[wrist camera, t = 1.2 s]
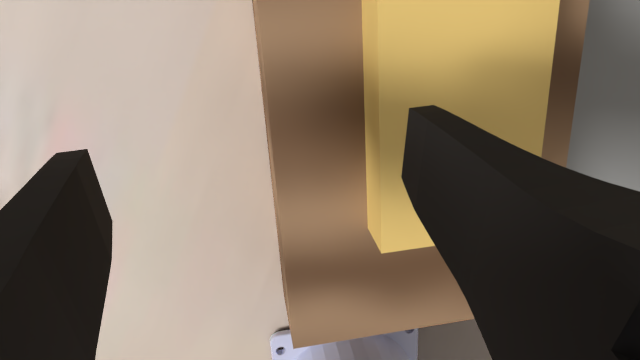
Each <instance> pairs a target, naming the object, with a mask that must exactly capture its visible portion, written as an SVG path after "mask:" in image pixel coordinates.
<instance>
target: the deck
mask: <svg viewBox="0 0 640 360" xmlns="http://www.w3.org/2000/svg"><path fill="white" fill-rule="evenodd" d="M252 2H253V11H254V20H255V30H256V39H257V48H258V57H259V67H260V76H261V85H262V95H263V104H264V113H265V122H266V132H267V141H268V150H269V160H270V169H271V178H272V187H273V197H274V206H275V215H276V225H277V234H278V243H279V252H280V262H281V271H282V280H283V289H284V297H285V303H286V309H287V315H288V321H289V327H290V332H291V338H292V344H293V349H296V348H302V347H308V346H314V345H320V344H326V343H332V342H338V341H344V340H350V339H356V338H362V337H368V336H374V335H380V334H386V333H392V332H398V331H404V330H410V329H417V328H423V327H429V326H435V325H441V324H447V323H453V322H459V321H465V320H471V319H475V318H474V316H473V314H472V311H471V309H470V307H469V305H468V303H467V300H466V298H465V296H464V294H463V292H462V291H461V289H460V287H459V285H458V283H457V281H456V280H455V278H454V276H453V275H452V273H451V271H450V270H449V268H448V266H447V265H446V263H445V261H444V260H443V258H442V256H441V255H440V253H439V251H438V250H437V248H436V246H430V247H423V248H416V249H409V250H403V251H396V252H389V253H382V254H381V252H380V250H379V248H378V246H377V244H376V243H375V241H374V239H373V237H372V235H371V233H370V231H369V230H368V218H367V181H366V144H365V108H364V71H363V34H362V0H252ZM589 2H590V0H560V5H559V13H558V21H557V30H556V38H555V47H554V55H553V63H552V72H551V80H550V88H549V97H548V105H547V114H546V122H545V130H544V139H543V147H542V156H541V158H543V159H546V160H548V161H550V162H553V163H555V164H558V165H560V166H563V167H565V168H566V164H567V157H568V150H569V143H570V136H571V129H572V122H573V115H574V108H575V101H576V94H577V87H578V79H579V72H580V65H581V58H582V51H583V44H584V37H585V30H586V23H587V16H588V9H589Z"/></svg>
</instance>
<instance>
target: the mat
mask: <svg viewBox="0 0 640 360" xmlns="http://www.w3.org/2000/svg"><path fill="white" fill-rule="evenodd" d="M566 168H568V169H571V170H574V171H576V172H579V173H582V174H585V175H587V176H590V177H593V178H596V179H599V180H602V181H605V182H608V183H612V184H615V185H619V186H622V187H626V188H629V189H633V190H636V191H640V0H590V2H589V9H588V16H587V23H586V30H585V37H584V44H583V51H582V58H581V65H580V72H579V79H578V87H577V94H576V101H575V108H574V115H573V122H572V129H571V136H570V143H569V150H568V157H567V164H566Z"/></svg>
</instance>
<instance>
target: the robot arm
mask: <svg viewBox="0 0 640 360" xmlns="http://www.w3.org/2000/svg"><path fill="white" fill-rule="evenodd" d="M401 178H402V181H403V183H404V186H405V188H406V191H407V194H408V196H409V198H410V201H411V203H412V205H413V208H414V210H415V212H416V214H417V216H418V217H419V219H420V221H421V223H422V224H423V226H424V228H425V229H426V231H427V233H428V235H429V236H430V238H431V240H432V241H433V243H434V245H435V246H436V248H437V250H438V251H439V253H440V255H441V256H442V258H443V260H444V261H445V263H446V265H447V266H448V268H449V270H450V271H451V273H452V275H453V276H454V278H455V280H456V281H457V283H458V285H459V287H460V289H461V291H462V292H463V294H464V296H465V298H466V300H467V303H468V305H469V307H470V309H471V311H472V314H473V316H474V318H475V320H476V322H477V325H478V327H479V329H480V331H481V334H482V336H483V338H484V341H485V343H486V345H487V348H488V350H489V353H490V355H491V357H492V360H640V191H636V190H633V189H629V188H626V187H622V186H619V185H615V184H612V183H608V182H605V181H602V180H599V179H596V178H593V177H590V176H587V175H585V174H582V173H579V172H576V171H574V170H571V169H568V168H565V167H563V166H560V165H558V164H555V163H553V162H550V161H548V160H546V159H543V158H541V157H539V156H537V155H534V154H532V153H530V152H528V151H526V150H523V149H521V148H519V147H517V146H515V145H513V144H511V143H509V142H507V141H505V140H503V139H501V138H499V137H497V136H495V135H493V134H491V133H489V132H487V131H485V130H483V129H481V128H479V127H477V126H476V125H474V124H472V123H470V122H468V121H466V120H464V119H462V118H460V117H458V116H456V115H454V114H452V113H450V112H448V111H446V110H444V109H442V108H440V107H437V106H435V105H429V106H421V107H413V108H409V113H408V122H407V130H406V139H405V148H404V157H403V166H402V175H401ZM111 260H112V219H111V216H110V213H109V210H108V208H107V205H106V202H105V199H104V196H103V193H102V190H101V188H100V185H99V182H98V179H97V176H96V173H95V170H94V167H93V165H92V162H91V159H90V156H89V153H88V150H87V149H84V150H76V151H69V152H61V153H56V154H55V155H54V156H53V157H52V158H51V159H50V160H49V161H48V162H47V163H46V164H45V165H44V166H43V167H42V168H41V169H40V170H39V171H38V172H37V173H36V174H35V175H34V176H33V177H32V178H31V179H30V180H29V181H28V182H27V183H26V185H25V186H24V187H23V188H22V189H21V190H20V191H19V192H18V193H17V194H16V195H15V196H14V197H13V198H12V199H11V200H10V201H9V202H8V203H7V204H6V205H5V206H4V207H3V208H2V209H1V210H0V360H95V355H96V348H97V343H98V337H99V331H100V326H101V320H102V314H103V308H104V303H105V297H106V291H107V285H108V279H109V273H110V267H111ZM270 346H271V353H272V360H418V328H417V329H410V330H404V331H398V332H392V333H386V334H380V335H374V336H368V337H362V338H356V339H350V340H344V341H338V342H332V343H326V344H320V345H314V346H308V347H302V348H296V349H293V344H292V338H291V332H290V330H284V331H278V332H275V333H274V334H272V336H271V337H270ZM279 347H284V348H283V349H281V350H278V349H277V348H279Z"/></svg>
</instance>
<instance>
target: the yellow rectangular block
mask: <svg viewBox="0 0 640 360" xmlns="http://www.w3.org/2000/svg"><path fill="white" fill-rule="evenodd" d="M559 5H560V0H362V34H363V71H364V108H365V144H366V181H367V218H368V230H369V231H370V233H371V235H372V237H373V239H374V241H375V243H376V244H377V246H378V248H379V250H380V252H381V254H382V253H389V252H396V251H403V250H409V249H416V248H423V247H430V246H435V245H434V243H433V241H432V240H431V238H430V236H429V235H428V233H427V231H426V229H425V228H424V226H423V224H422V223H421V221H420V219H419V217H418V216H417V214H416V212H415V210H414V208H413V205H412V203H411V201H410V198H409V196H408V194H407V191H406V188H405V186H404V183H403V181H402V178H401V175H402V166H403V157H404V148H405V139H406V130H407V122H408V113H409V108H413V107H421V106H429V105H435V106H437V107H440V108H442V109H444V110H446V111H448V112H450V113H452V114H454V115H456V116H458V117H460V118H462V119H464V120H466V121H468V122H470V123H472V124H474V125H476V126H477V127H479V128H481V129H483V130H485V131H487V132H489V133H491V134H493V135H495V136H497V137H499V138H501V139H503V140H505V141H507V142H509V143H511V144H513V145H515V146H517V147H519V148H521V149H523V150H526V151H528V152H530V153H532V154H534V155H537V156H539V157H541V156H542V147H543V139H544V130H545V122H546V114H547V105H548V97H549V88H550V80H551V72H552V63H553V55H554V47H555V38H556V30H557V21H558V13H559Z"/></svg>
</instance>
